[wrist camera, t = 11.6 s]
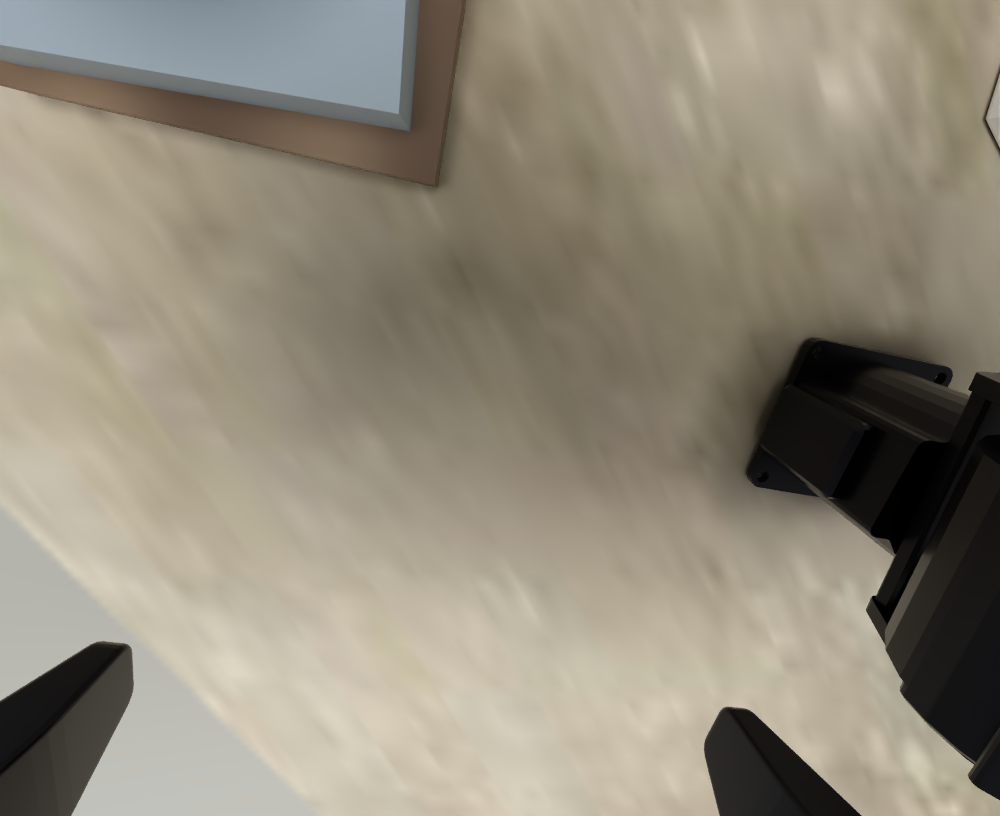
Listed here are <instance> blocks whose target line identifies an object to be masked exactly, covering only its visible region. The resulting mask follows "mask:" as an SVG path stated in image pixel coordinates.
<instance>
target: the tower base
mask: <svg viewBox="0 0 1000 816" xmlns="http://www.w3.org/2000/svg"><path fill="white" fill-rule="evenodd" d="M465 5H466V0H420V1H419V15H418V30H417V44H416V59H415V73H414V87H413V102H412V116H411V130H410V131H405V130H399V129H393V128H387V127H381V126H375V125H369V124H363V123H358V122H352V121H346V120H340V119H334V118H328V117H322V116H316V115H310V114H305V113H299V112H293V111H287V110H281V109H275V108H269V107H263V106H257V105H251V104H246V103H240V102H234V101H228V100H222V99H216V98H210V97H204V96H198V95H193V94H187V93H181V92H175V91H169V90H163V89H157V88H151V87H145V86H140V85H134V84H128V83H122V82H116V81H110V80H104V79H98V78H92V77H86V76H81V75H75V74H69V73H63V72H57V71H51V70H45V69H39V68H33V67H28V66H22V65H16V64H12V63H9V62H6V61H2V60H0V85H1V86H5V87H9V88H13V89H17V90H20V91H24V92H28V93H32V94H36V95H40V96H44V97H49V98H53V99H57V100H62V101H66V102H70V103H75V104H79V105H83V106H88V107H92V108H96V109H101V110H105V111H109V112H114V113H118V114H122V115H127V116H131V117H135V118H140V119H144V120H148V121H153V122H157V123H161V124H166V125H170V126H174V127H179V128H183V129H187V130H192V131H196V132H200V133H205V134H209V135H213V136H218V137H222V138H226V139H230V140H235V141H239V142H243V143H248V144H252V145H256V146H261V147H265V148H269V149H274V150H278V151H282V152H287V153H291V154H295V155H300V156H304V157H308V158H313V159H317V160H321V161H326V162H330V163H334V164H339V165H343V166H347V167H352V168H356V169H360V170H365V171H369V172H373V173H378V174H382V175H386V176H391V177H395V178H399V179H404V180H408V181H412V182H417V183H421V184H425V185H430V186H434V187H438V181H439V174H440V168H441V161H442V155H443V148H444V142H445V135H446V129H447V122H448V116H449V109H450V103H451V96H452V90H453V83H454V77H455V70H456V64H457V57H458V51H459V44H460V38H461V31H462V25H463V18H464V12H465Z"/></svg>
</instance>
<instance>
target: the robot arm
mask: <svg viewBox="0 0 1000 816" xmlns="http://www.w3.org/2000/svg"><path fill="white" fill-rule="evenodd" d="M818 347H819V352H818V353H817V354H816V355H815V356H813V352H814V351H815V349H816V348H818ZM936 376H937V377H936ZM935 377H936V379H935ZM952 377H953V373H952V370H951V369H950V368H948V367H946V366H943V365H940V364H936V363H931V362H927V361H922V360H917V359H913V358H908V357H903V356H899V355H894V354H890V353H885V352H880V351H876V350H871V349H866V348H862V347H857V346H852V345H848V344H843V343H839V342H834V341H829V340H825V339H820V338H813V339H810V340H808V341H807V342H806V343H804V345H803V346H802V348H801V350H800V352H799V355H798V357H797V359H796V361H795V364H794V366H793V368H792V371H791V373H790V375H789V377H788V380H787V382H786V384H785V386H784V389H783V390H782V393H781V395H780V397H779V399H778V402H777V404H776V406H775V409H774V411H773V413H772V415H771V418H770V420H769V422H768V424H767V427H766V429H765V431H764V433H763V436H762V438H761V440H760V443H759V445H758V448H757V450H756V452H755V454H754V457H753V459H752V461H751V463H750V466H749V468H748V470H747V474H746V475H747V478H748V480H749V481H750V482H751V483H752V484H753V485H755V486H757V487H761V488H767V489H773V490H779V491H785V492H791V493H798V494H804V495H810V496H816V497H820V498H822V499H823V500H824V501H825V502H827V503H828V504H829V505H830V506H832V507H833V508H834V509H835V510H837V511H838V512H839V513H840V514H841V515H843V516H844V517H845V518H846V519H848V520H849V521H850V522H851V523H853V524H854V525H855V526H856V527H858V528H859V529H860V530H861V531H863V532H864V533H865V534H866V535H867V536H869V537H870V538H871V539H872V540H874V541H875V542H876V543H877V544H879V545H880V546H881V547H882V548H884V549H885V550H886V551H887V552H888V553H890V554H891V555H892V556H893V557H894V559H893V561H892V563H891V565H890V567H889V570H888V572H887V574H886V576H885V578H884V580H883V582H882V585H881V587H880V589H879V591H878V593H877V595H876V596H872V597H871V599H870V602H869V604H868V606H867V608H866V611H867V613H868V615H869V617H870V619H871V620H872V622H873V624H874V626H875V628H876V629H877V631H878V633H879V635H880V637H881V638H882V640H883V642H884V644H885V646H886V651H887V653H888V655H889V657H890V659H891V661H892V663H893V665H894V667H895V669H896V670H897V672H898V674H899V676H900V678H901V679H902V680H903V682H902V684H901V686H900V692H901V693H902V695H903V697H904V698H905V699H906V701H907V702H908V703H909V704H910V705H911V707H912V708H913V709H914V710H915V711H916V712H917V713H918V714H919V715H920V716H921V718H922V719H923V720H924V721H925V722H926V723H927V724H928V725H929V726H930V727H931V728H932V729H933V730H934V731H935V732H937V733H938V734H939V735H940V736H941V737H942V738H943V739H944V740H946V742H948V743H949V744H950V745H951V746H952V747H953V748H954V749H955V750H957V751H958V752H959V753H960V754H961V755H962V756H963V757H965V758H966V759H967V760H969V761H970V762H971V763H973V764H974V766H973V768H972V769H971V771H970V772H969V774H968V777H969V779H970V780H971V782H972V783H973V784H974V785H975V786H976V787H978V788H979V789H981V790H983V791H985V792H986V793H988V794H990V795H992V796H993V797H995V798H997V799H999V800H1000V373H990V372H976V374H975V376H974V378H973V381H972V383H971V385H970V387H969V390H970V391H972V393H971V395H970V396H969V395H966V394H963V393H961V392H958V391H955V390H953V389H950V388H947V387H948V385H949V383H950V382H951V379H952ZM934 379H935V380H934ZM761 472H763V474H762V476H760V477H757V476H758V475H759V473H761ZM133 685H134V682H133V662H132V649H131V647H130V646H129V645H128V644H124V643H114V642H105V641H102V642H96V643H94V644H91V645H90V646H88V647H86V648H84V649H83V650H81V651H80V652H78V653H76V654H75V655H73V656H72V657H70V658H68V659H67V660H65V661H63V662H62V663H60V664H59V665H57V666H56V667H54V668H52V669H51V670H49V671H47V672H46V673H44V674H43V675H41V676H39V677H38V678H36V679H35V680H33V681H31V682H30V683H28V684H27V685H25V686H23V687H22V688H20V689H19V690H17V691H15V692H14V693H12V694H11V695H9V696H7V697H6V698H4V699H2V700H1V701H0V816H71V815H72V813H73V811H74V809H75V807H76V805H77V803H78V801H79V800H80V798H81V796H82V794H83V792H84V790H85V788H86V786H87V784H88V781H89V780H90V778H91V776H92V774H93V772H94V770H95V768H96V766H97V764H98V763H99V761H100V758H101V757H102V755H103V753H104V751H105V749H106V747H107V745H108V743H109V741H110V739H111V737H112V735H113V733H114V731H115V729H116V727H117V726H118V724H119V722H120V720H121V718H122V716H123V714H124V712H125V710H126V708H127V706H128V704H129V701H130V699H131V696H132V693H133ZM704 752H705V759H706V763H707V767H708V771H709V775H710V779H711V783H712V787H713V791H714V795H715V799H716V803H717V807H718V811H719V815H720V816H861V815H860V814H859V813H858V812H857V811H856V810H855V809H854V808H853V807H852V806H851V805H850V804H849V803H848V802H847V801H846V800H844V799H843V798H842V797H841V796H840V795H839V794H838V793H837V792H836V791H835V790H834V789H833V788H832V787H831V786H830V785H829V784H828V783H827V782H826V781H824V780H823V779H822V778H821V777H820V776H819V775H818V774H817V773H816V772H815V771H814V770H813V769H812V768H811V767H810V766H809V765H808V764H807V763H806V762H804V761H803V760H802V759H801V758H800V757H799V756H798V755H797V754H796V753H795V752H794V751H793V750H792V749H791V748H790V747H789V746H788V745H787V744H786V743H784V742H783V741H782V740H781V739H780V738H779V737H778V736H777V735H776V734H775V733H774V732H773V731H772V730H771V729H770V728H769V727H768V726H767V725H766V724H765V723H763V722H762V721H761V720H760V719H759V718H758V717H757V716H756V715H755V714H754V713H753V712H751V711H750V710H747V709H744V708H735V707H725V708H723V709H722V710H721V711H720V712H719V714H718V716H717V718H716V720H715V722H714V724H713V725H712V727H711V729H710V731H709V733H708V735H707V737H706V739H705V744H704Z"/></svg>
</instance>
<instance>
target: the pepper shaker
mask: <svg viewBox="0 0 1000 816" xmlns="http://www.w3.org/2000/svg"><path fill="white" fill-rule="evenodd" d="M986 121H987V123H988V125H989V127H990V129H991V131H992V133H993V135H994V137H995V139H996V141H997V143H998V145H999V148H1000V75H999V78H998V81H997V84H996V87H995V91H994V94H993V97H992V100H991V103H990V106H989V109H988V113H987V116H986Z"/></svg>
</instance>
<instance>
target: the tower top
mask: <svg viewBox="0 0 1000 816" xmlns="http://www.w3.org/2000/svg"><path fill="white" fill-rule="evenodd" d="M419 1H420V0H0V60H2V61H6V62H9V63H12V64H16V65H22V66H28V67H33V68H39V69H45V70H51V71H57V72H63V73H69V74H75V75H81V76H86V77H92V78H98V79H104V80H110V81H116V82H122V83H128V84H134V85H140V86H145V87H151V88H157V89H163V90H169V91H175V92H181V93H187V94H193V95H198V96H204V97H210V98H216V99H222V100H228V101H234V102H240V103H246V104H251V105H257V106H263V107H269V108H275V109H281V110H287V111H293V112H299V113H305V114H310V115H316V116H322V117H328V118H334V119H340V120H346V121H352V122H358V123H363V124H369V125H375V126H381V127H387V128H393V129H399V130H405V131H410V130H411V116H412V102H413V87H414V73H415V59H416V44H417V30H418V15H419Z"/></svg>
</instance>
